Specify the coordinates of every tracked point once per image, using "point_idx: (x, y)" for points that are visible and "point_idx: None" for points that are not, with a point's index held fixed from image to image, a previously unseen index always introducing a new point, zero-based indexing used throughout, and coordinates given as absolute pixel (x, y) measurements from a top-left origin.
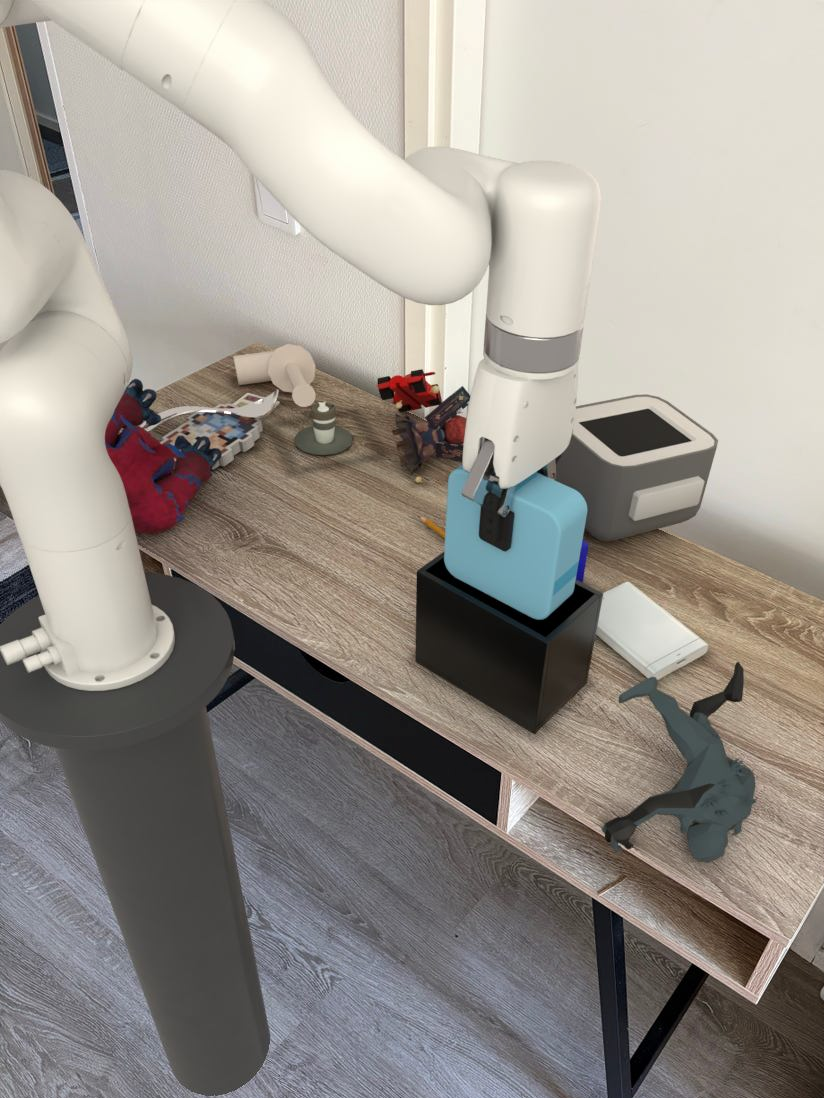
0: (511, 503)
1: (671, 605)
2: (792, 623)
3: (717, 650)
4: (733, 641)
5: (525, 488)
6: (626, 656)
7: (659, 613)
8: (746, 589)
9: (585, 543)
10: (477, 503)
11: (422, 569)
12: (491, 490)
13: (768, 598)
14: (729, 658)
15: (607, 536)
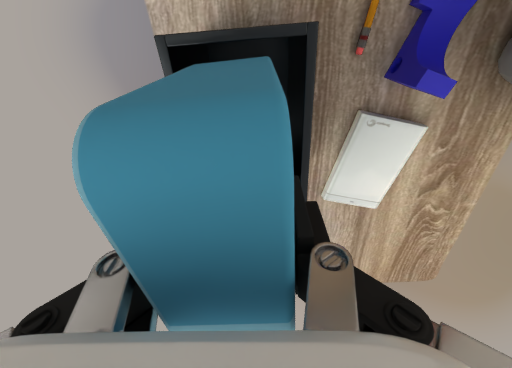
0: (156, 318)
1: (418, 160)
2: (436, 224)
3: (380, 205)
4: (396, 208)
5: (209, 329)
6: (332, 173)
7: (392, 170)
8: (468, 189)
9: (445, 94)
10: (102, 257)
11: (163, 41)
12: (132, 290)
13: (461, 204)
14: (376, 213)
15: (501, 71)
